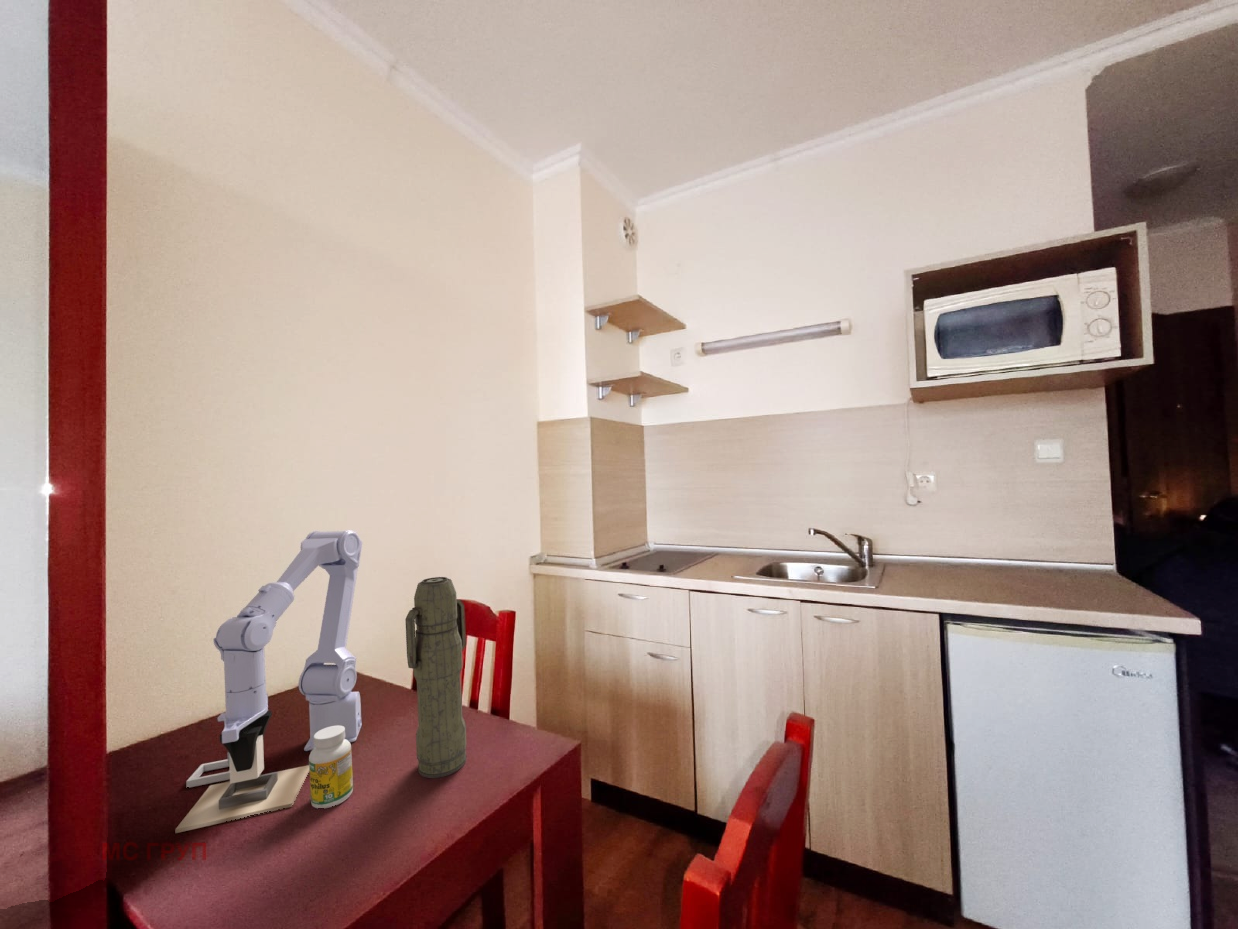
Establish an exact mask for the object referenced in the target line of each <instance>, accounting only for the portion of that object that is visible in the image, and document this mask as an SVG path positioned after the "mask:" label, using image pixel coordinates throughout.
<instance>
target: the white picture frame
mask: <svg viewBox="0 0 1238 929" xmlns="http://www.w3.org/2000/svg"><path fill="white" fill-rule="evenodd" d="M228 767H229V768H230V765H229V764H228V758H227V759H223V760H222V759H221V760H217V761H212V762H211V761H210V762H206V763H202V764H200V765H199V766H198V768H196V770H195V771H194V772H193V773H192V774H191V775H190V777H188V779H187V780H186V783H185V784H186V789H188V788H187V787H189V788H193V787H199V786H202V785H208V784H213V783H218V782H219V783H220V782H222V781H223V782H224V781H230V769H229V770H228V771H223V772H219V773H214V774H209V775H204V776H201V775H202V774H203V773H204V772H209V771H213V770H214V771H215V770H219V769H223V768H228Z"/></svg>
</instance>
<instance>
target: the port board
mask: <svg viewBox="0 0 1238 929" xmlns="http://www.w3.org/2000/svg"><path fill="white" fill-rule="evenodd" d="M308 773H309V774H310V769H309V764H307V765H303V766H298V767H293V768H288V769H285V770H284V769H283V770H279V771H274V772H269V773H265V774H260V775H259V777H258V778H256V779H251V780H246V781H241V782H236V783H231V784H230V781H225V782H221V783H220V782H219V783H216V784H210V785H209V786H208V788H207V789H206V790H205V791H204V792H203V794H202V795H201V796H200V797H199V799H198V800H197V801H196V803H195V804H194V805H193V807H192V808H191V809H190V810H189V812H187V814H186V816H185V817H184V818H183V819H182V821H181V822H180V823H179V824H178V826H177V827H175V829H174V830H175V834H178V833H182V832H186V831H192V830H196V829H200V828H204V827H210V826H214V825H217V824H222V823H226V821H227V822H231V820H232V821H236V820H240V818H241V819H244V817H245V818H248V817H247V816H249V817H251V816H250V815H254V814H258V815H261V814H260V813H263V814H265V813H264V812H267V811H268V812H267V813H270V812H269V811H271V812H275V811H279V810H278V809H280V810H284V809H283V808H285V809H288V808H293V806H292V805H294V804H295V802H296V800H297V798H296V797H298V796H297V795H299V794H300V792H299V791H301V790H300V789H302V788H303V786H304V784H303V783H305V782H306V780H305V779H307V778H308V776H307V775H309V774H308ZM306 777H307V778H306ZM304 781H305V782H304ZM302 785H303V786H302ZM301 787H302V788H301ZM294 801H295V802H294ZM254 816H255V815H254ZM235 819H236V820H235Z"/></svg>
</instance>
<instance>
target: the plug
mask: <svg viewBox="0 0 1238 929" xmlns="http://www.w3.org/2000/svg"><path fill="white" fill-rule="evenodd" d="M226 754H227V759H228V764H229V765H230V766H229V770H230V779H229V782H230V784H231V783H236V782H241V781H246V780H251V779H256V778H258V777H259V775H262V772H263V771H264V770H265V761H264V760H265V759H264V754H265V753H264V738H263V735H259V736H258V737H257V741H256V745H255V753H254V761H253V765H252V768H251V769H249V770H244V771H239V772H237V771H236V769H235V766H234V764H233V761H232V758H231V756H230V753H229V752H228V751H227V753H226Z"/></svg>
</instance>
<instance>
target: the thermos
mask: <svg viewBox="0 0 1238 929" xmlns="http://www.w3.org/2000/svg"><path fill="white" fill-rule="evenodd" d="M413 597H414V598H413V607H412V608H411V609H410V610H409V611H408V613H407V615H406V617H405V639H406V658H407V666H408V668H409V669H413V677H414V678H415V679H414V680H416V691H417V692H416V694H417V715H418V718H417V719H418V720H417V722H418V725H417V729H416V733H415V740H416V743H415V744H416V745H415V746H416V758H417V762H418V763H417V764H418V766H417V767H418V770H417V771H418V775H420V776H421V777H423V778H427V779H437V778H444V777H447V776H450V775H452V774H454V773H456V772H457V771H459V770H461V769H462V768H463V767H464V766H465V764H466V763H467V753H466V752H467V751H466V749H467V724H466V722H465V719H464V717H463V700H462V675H461V674H462V670H463V666H464V662H463V658H464V657H463V651H464V650H465V648H466V646H467V638H466V637H467V634H466V612H465V604H464V603H463V601H462V600H461V599H459V598H458V597H457V590H456V588H455V586H454V584H453V580H452V579H451V578H448V577H446V576H435V577H429V578H425V579H423V580H421V581H420V582H419V581H418V583H417V586H416V589H415V593H414V596H413Z"/></svg>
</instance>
